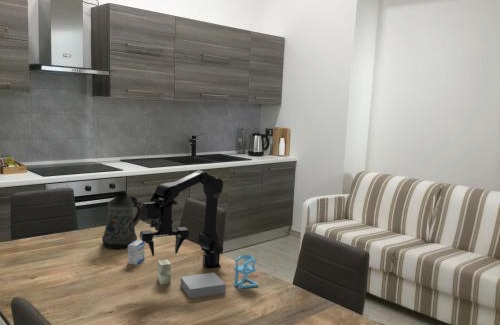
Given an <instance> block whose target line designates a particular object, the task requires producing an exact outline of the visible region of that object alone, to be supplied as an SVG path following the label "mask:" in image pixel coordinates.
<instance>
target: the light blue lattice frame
mask: <svg viewBox="0 0 500 325" xmlns="http://www.w3.org/2000/svg"><path fill="white" fill-rule="evenodd" d="M242 259H244V261H245V262H244V263H243V264H242V265H239V261H240V260H242ZM234 261H235V266H234V267H233V270H234V272H235V273H234V284H233V287H237V289H238V290H240V289H247V288H254V287H258V286H259V283H257V282H256V281H254V280H251V279H250V278H248V276H249V275H250V274H252V273H255V272H257V268H255V265H256V263H257V262H256V261H257V260H256V259H255V257H254V256H252V255H249V254H244V255H240V256H238V257H237V258H235V259H234ZM250 263H252V265H249V264H250ZM239 274H242V275H243V277H242V278H241V280H239ZM246 281H247V282H248V283H249V284H244V282H246Z"/></svg>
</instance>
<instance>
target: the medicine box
mask: <svg viewBox="0 0 500 325" xmlns="http://www.w3.org/2000/svg"><path fill="white" fill-rule="evenodd" d="M145 246H146V243H145V242H143V241H142V240H141V239H137V240H135V241H134V242H132V243H131V244H129V245H128V249H127V264H128V265H135V266H137V265H139V264H140V263H141V262H142V261H144V260H145V250H146V249H145Z"/></svg>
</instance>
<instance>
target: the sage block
mask: <svg viewBox="0 0 500 325" xmlns="http://www.w3.org/2000/svg"><path fill="white" fill-rule="evenodd" d="M171 277H172V264H171V262H170V261H169V260H168V259H162V260H158V261H157V281H158V283H159V284H160V285H167V284H171V281H172V279H171Z"/></svg>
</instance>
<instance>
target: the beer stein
mask: <svg viewBox="0 0 500 325" xmlns="http://www.w3.org/2000/svg"><path fill="white" fill-rule="evenodd" d="M142 204H143V203H142V202H140V201H138V199H137V197H136V196H133V195H129V194H128V193H117V194H116V196H115V197H113V198H112V199H111V200H109V201H108V202H107V208H108V213H107V219H106V225H105V227H104V228H105V229H104V231H103V235H102V238H101V241H102V245H103V248H105V249H108V250H115V251H118V250H119V251H120V250H121V251H122V250H128V245H129V244H131V243H132V242H134V241H135V240H138V236H137V234H136V230H135V227H136V226H137V224H138V223H139V222H140V220H141V218H140V216H139V211H140V208H141V207H142ZM134 208H136V209H137V210H136V213H135V216H134V214H133V209H134Z"/></svg>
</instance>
